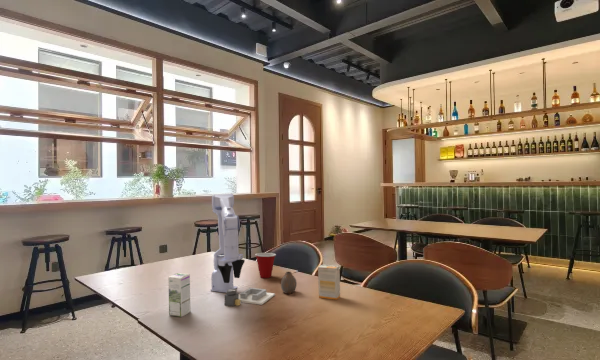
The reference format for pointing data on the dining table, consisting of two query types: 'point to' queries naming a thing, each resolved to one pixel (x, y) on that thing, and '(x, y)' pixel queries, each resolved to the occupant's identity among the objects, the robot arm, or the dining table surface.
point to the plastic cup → (265, 264)
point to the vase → (288, 283)
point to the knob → (232, 298)
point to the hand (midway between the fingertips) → (231, 280)
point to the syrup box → (179, 294)
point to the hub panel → (255, 296)
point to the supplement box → (329, 281)
